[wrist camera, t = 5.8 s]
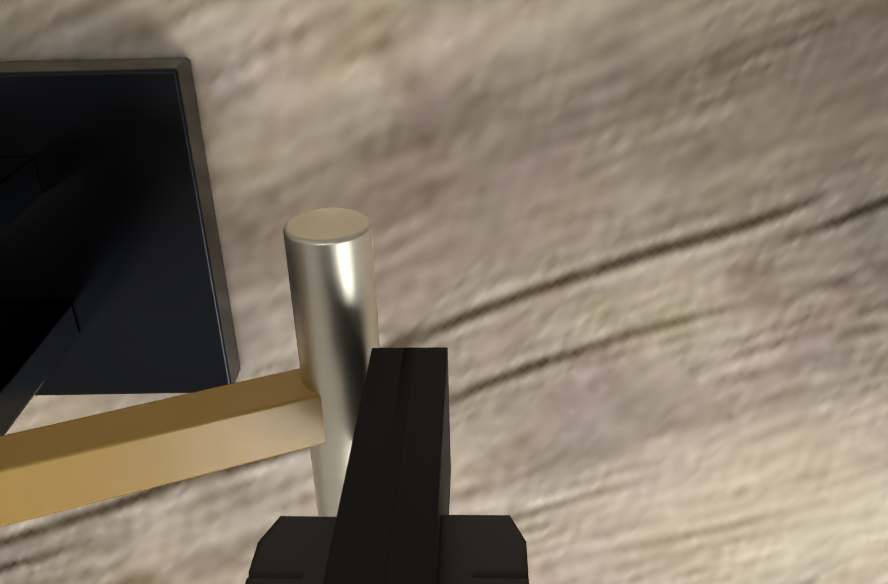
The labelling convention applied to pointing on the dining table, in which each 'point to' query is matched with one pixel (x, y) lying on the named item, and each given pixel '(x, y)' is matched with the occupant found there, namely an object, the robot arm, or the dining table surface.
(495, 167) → the dining table surface
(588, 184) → the dining table surface
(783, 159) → the dining table surface
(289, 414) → the lever
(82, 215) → the bracket
